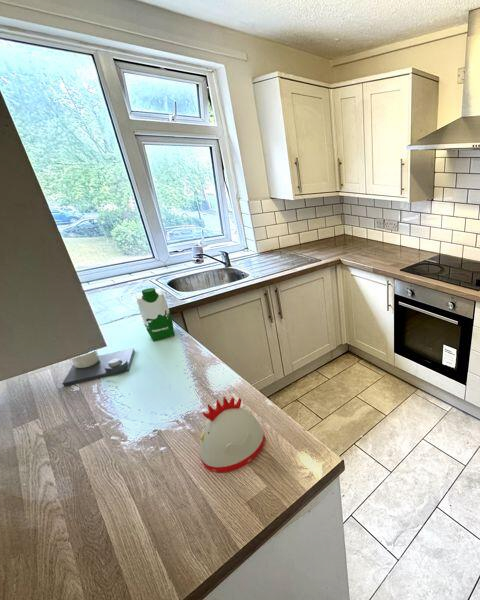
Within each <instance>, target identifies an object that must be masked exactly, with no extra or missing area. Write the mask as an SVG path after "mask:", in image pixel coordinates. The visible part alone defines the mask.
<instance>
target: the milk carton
mask: <svg viewBox="0 0 480 600" xmlns="http://www.w3.org/2000/svg"><path fill="white" fill-rule="evenodd" d="M135 298H136V303H137V305H138V310H139V313H140V315H141V319H142V321H143V324H144V327H145V329H146V331H147V333H148V335H149V336H150V338H151V340H152V342H153V343H154V342H157V341H160V340H165V339H168V338H172V337H175V329H174V322H173V317H172V314H171V311H170V308H169V305H168V302H167V300H166V296H165V293H164V292H163V291H162V289H161V288H154V287H150V288H149V287H148V288H145V289H143V290H142V291H141V292H136V297H135Z"/></svg>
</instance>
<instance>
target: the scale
mask: <svg viewBox="0 0 480 600" xmlns="http://www.w3.org/2000/svg"><path fill="white" fill-rule="evenodd" d="M135 352H136V351H135V348H133V347H132V348H128V349H123V350H120V351H114V352H110V353H105V354H101V355H99V358H100V359H99V361H98V362H97V363H96V364H94V365H92V366H89V367H85V368H77V367H75V366H74V364H73V363H72V366H71V367H70V370H69V372H68V373H67V374H66V376H65V378H64V380H63V381H62V385H63V387H64V388H65V387H70V386H74V385H79V384H82V383H86V382H90V381H91V382H92V381H94V380H98V379H103V378H108V377H111V376H115V375H119V374H120V375H121V374H123V373H128V372H130V369H131V366H132V363H133V359H134V355H135ZM115 358H119V359H120V361H121V364H119V365H117V366H113V367H111V366H110V364H109V361H110V360H112V359H115Z"/></svg>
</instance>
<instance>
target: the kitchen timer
mask: <svg viewBox="0 0 480 600" xmlns="http://www.w3.org/2000/svg"><path fill="white" fill-rule="evenodd" d="M241 404H242V398H241V397H239V398H238V400H237V401H236V403H235V397H233V396H231V398H230V400H229V401H228V399H227V398H226V397H225V396H223V399H222V405H221V402H220V401H219V399H216V406H215V407H216V408H215V409H214V408H213V407H212V406H211V405H210V404H209V403H208V404H207V409H208V412H204V411H201V414H202V415H203V417H205V418H206V419H207V420H206V421H205V424H204V425H203V428H202V430H201V434H200V440H199V456H200V461H201V463H202V465H203V467H204V468H205V469H207V470H208V471H210V472H213V473H228V472H232V471H235V470H239V469H240V468H242V467H245V466H247V465H248V464H249V463H250V462H251V461H253V460H254V459H255V458H256V457H257V456H258V455H259V454H260V453H261V451H262V449H263V447H264V444H265V435H264V431H263V428H262V425H261V423H260V422H259V421H258V420H257V418H256V417H255V416H254V415H253V413H252V412H251V411H249V410H248V409H246V408H244V407H242V406H241Z"/></svg>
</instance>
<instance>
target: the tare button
mask: <svg viewBox="0 0 480 600" xmlns="http://www.w3.org/2000/svg"><path fill="white" fill-rule="evenodd" d="M109 364H110V366H111V367H113V366H117V365H119V364H121V361H120V359H119V358H115V359H112V360H110V361H109Z"/></svg>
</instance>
